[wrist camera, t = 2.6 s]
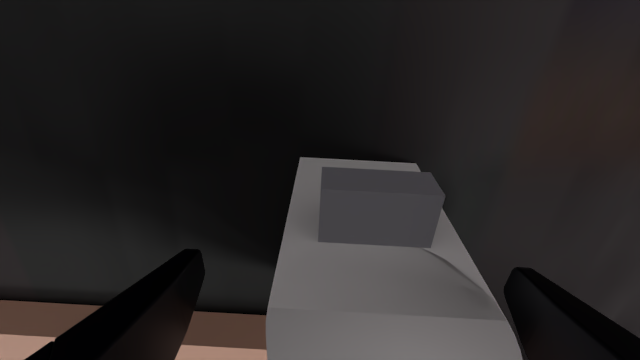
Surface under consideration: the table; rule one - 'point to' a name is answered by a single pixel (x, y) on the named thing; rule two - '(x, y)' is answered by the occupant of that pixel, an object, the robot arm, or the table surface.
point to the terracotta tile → (55, 318)
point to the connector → (378, 272)
